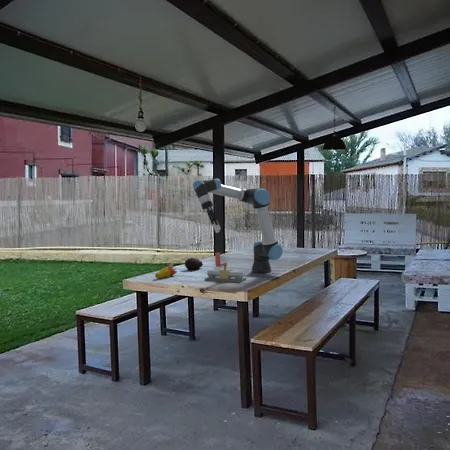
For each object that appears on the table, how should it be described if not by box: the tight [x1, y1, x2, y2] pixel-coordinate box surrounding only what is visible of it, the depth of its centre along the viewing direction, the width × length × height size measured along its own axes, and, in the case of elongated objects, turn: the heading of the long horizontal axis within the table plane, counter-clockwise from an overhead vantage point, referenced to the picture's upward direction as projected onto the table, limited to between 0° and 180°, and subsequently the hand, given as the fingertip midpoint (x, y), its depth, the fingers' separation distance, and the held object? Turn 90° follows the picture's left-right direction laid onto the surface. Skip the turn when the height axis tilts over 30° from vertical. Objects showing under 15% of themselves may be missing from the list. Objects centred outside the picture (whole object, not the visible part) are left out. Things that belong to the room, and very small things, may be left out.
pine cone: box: [184, 257, 204, 272], centre depth 389 cm, size 10×18×10 cm, turn 156°
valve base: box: [204, 264, 247, 284], centre depth 336 cm, size 12×26×11 cm, turn 66°
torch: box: [154, 262, 178, 279], centre depth 353 cm, size 8×8×25 cm
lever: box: [214, 252, 229, 268], centre depth 330 cm, size 15×3×9 cm, turn 156°
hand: (218, 231), depth 326 cm, fingers open, 13 cm apart
